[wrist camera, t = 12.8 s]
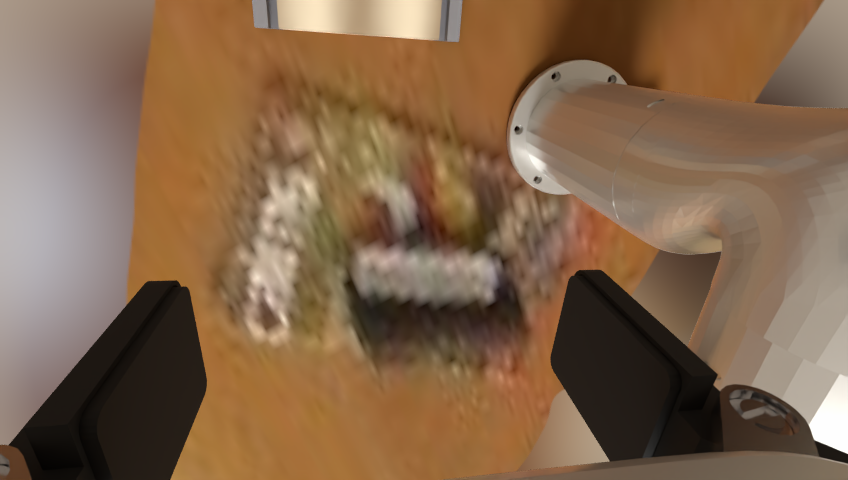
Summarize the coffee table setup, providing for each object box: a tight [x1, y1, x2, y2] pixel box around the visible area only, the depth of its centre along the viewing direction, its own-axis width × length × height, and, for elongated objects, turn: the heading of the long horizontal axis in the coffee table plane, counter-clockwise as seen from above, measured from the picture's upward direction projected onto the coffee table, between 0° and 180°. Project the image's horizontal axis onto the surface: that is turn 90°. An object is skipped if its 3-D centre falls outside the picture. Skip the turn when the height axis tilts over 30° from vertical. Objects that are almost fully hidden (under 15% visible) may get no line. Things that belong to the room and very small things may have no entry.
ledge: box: [277, 0, 442, 40], centre depth 32 cm, size 12×4×3 cm, turn 86°
